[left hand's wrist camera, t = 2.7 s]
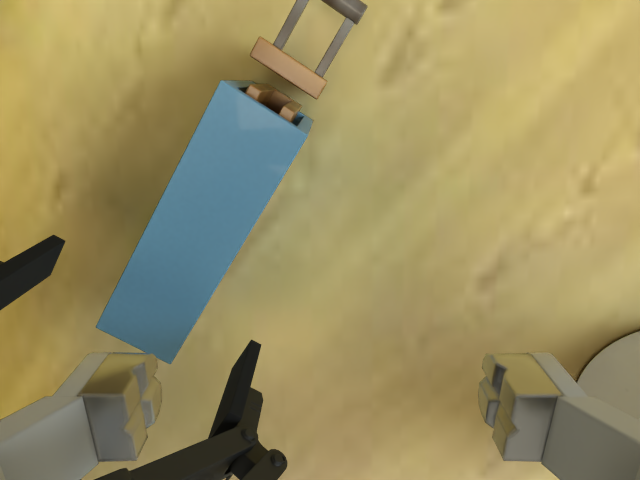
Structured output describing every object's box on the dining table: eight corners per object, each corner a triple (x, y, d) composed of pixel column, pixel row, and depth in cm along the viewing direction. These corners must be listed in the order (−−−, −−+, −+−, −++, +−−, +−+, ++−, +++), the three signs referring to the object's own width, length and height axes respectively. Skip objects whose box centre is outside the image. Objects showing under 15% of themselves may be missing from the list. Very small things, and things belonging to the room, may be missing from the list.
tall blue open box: (251, 80, 34) (220, 79, 24) (313, 120, 35) (308, 135, 25) (151, 267, 39) (94, 327, 30) (207, 297, 40) (170, 365, 31)
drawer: (311, -19, 31) (305, -54, 23) (364, 19, 31) (377, -3, 23) (174, 237, 37) (132, 279, 29) (220, 262, 38) (192, 310, 30)
